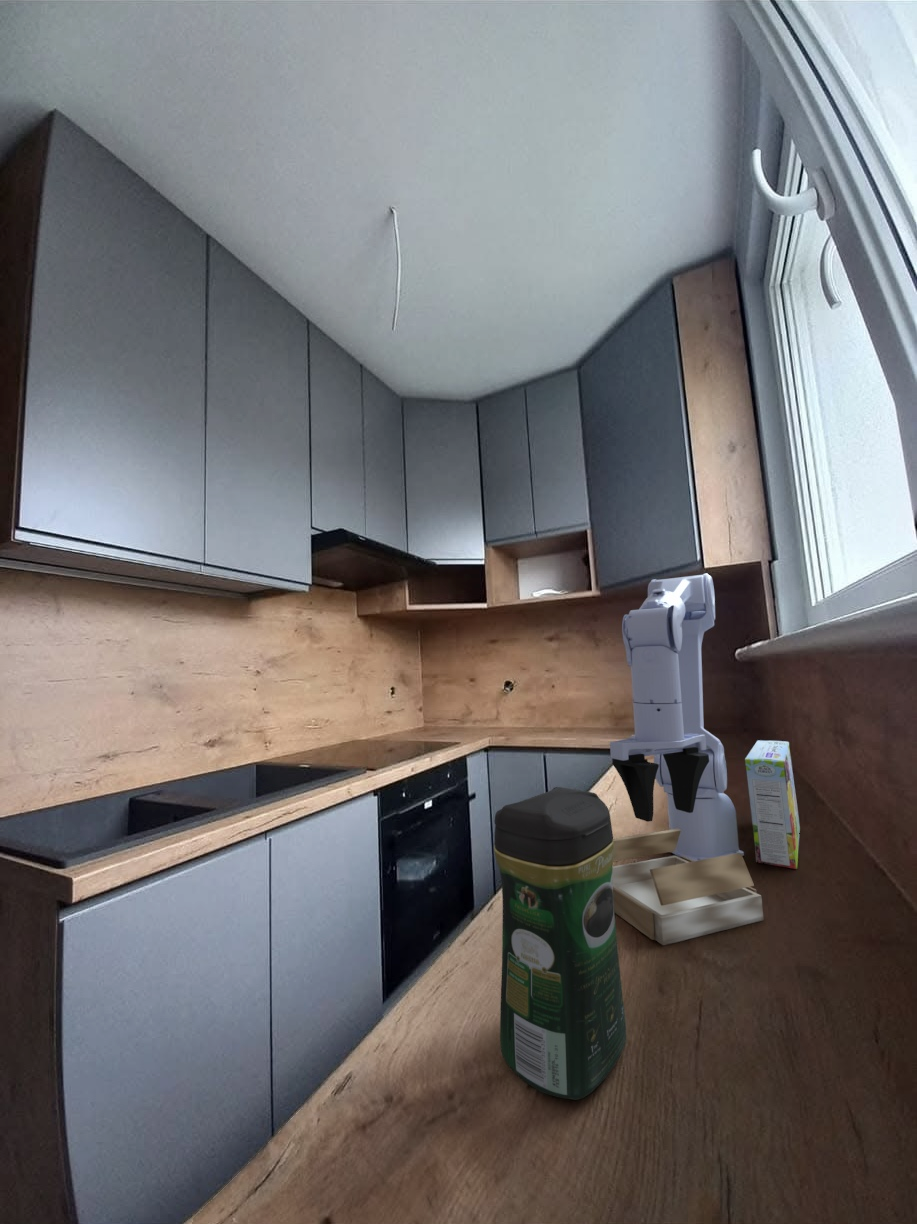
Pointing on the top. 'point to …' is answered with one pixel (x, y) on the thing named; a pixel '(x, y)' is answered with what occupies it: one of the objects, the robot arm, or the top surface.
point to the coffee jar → (559, 942)
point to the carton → (678, 905)
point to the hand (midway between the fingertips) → (664, 814)
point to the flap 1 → (645, 844)
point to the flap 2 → (700, 878)
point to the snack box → (773, 803)
